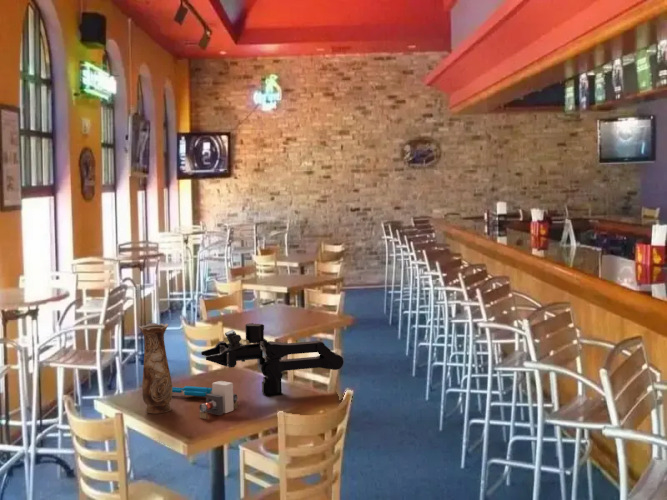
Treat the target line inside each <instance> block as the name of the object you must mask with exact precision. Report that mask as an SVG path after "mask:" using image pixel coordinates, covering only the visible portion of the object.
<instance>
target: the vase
mask: <svg viewBox="0 0 667 500" xmlns="http://www.w3.org/2000/svg"><path fill="white" fill-rule="evenodd" d="M168 326H169V323H159V324H158V323H156V322H155V323H154V322H153V323H147V324H146V325H141V326H140V325H139V326H138V328H139V329H140V331H141V333H142V334H143V338H144V340H143V341H144V350H143V351H144V354H143V355H144V356H143V370H142V371H143V372H142V384H141V389H142V390H141V391H142V400H143V402H144V404H145V405H146V406H147V407H146V409H145V412H146V413H148V414H163V413H166V412H170V411H171V410H172V407H171V405H170V403H171V402H172V399H173V392H172V387H173V382H172V378H171V372H170V367H169V363H168V362H169V361H168V356H167V351H166V345H165V333H166V330H167V328H168Z"/></svg>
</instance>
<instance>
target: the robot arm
mask: <svg viewBox="0 0 667 500" xmlns="http://www.w3.org/2000/svg"><path fill="white" fill-rule="evenodd" d="M244 325H245V326H244V327H245V341H248V344H243V343H242V342H240V341H241V340H242V337H241V335H240V334H237V332H236V331H235V330H234V329H231V330H229V331H226V332H224V335H225V337H226V339H227V341H228V343H227V342H226V341H224V340H220V341H218V342H217V343H216V345H215V346H214V347H211V348H209V349H205V350H202V351H201V354H200V355H201V356H205V360H206V361H208V362H212V363H215V364H217V365H221V366H223V367H227V368H235V367H236V366H237V362H240V361H241V362H242V363H243V362H244V363H245V362H246V361H249V360H250V361H253V360H257V370H258V371H260V372H261V373H262V375H263V378H262V381H261V393H262V394H263V395H264V396H265V397H273V396H282V395H284V393H283V392H282V389H283V388H282V379H283V375H284V374H283V373H282V372H285V371H287V372H288V371H296V370H297V371H298V370H308V369H316V368H317V369H319V368H320V369H326V370H333V371H337V370H340V369H342V367H343V366H344V358H343V357H342V356H341V355H340V354H338V353H337V352H335V351H332V350H331V349H330V348H329V347H327V345H325V343H324V342H323V341H321V340H318V339H317V340H315V341H302V342H287V343H286V342H279V341H268V340H267V339H266V338H265V332H264V331H265V325H264V324H263V323H254V322H252V323H251V322H250V323H246V324H244ZM261 347H262V348H261ZM311 353H317V354H318V355H317V356H310V357H309V356H308V357H296V358H286V359H281V358H283V357H286V356H288V355H289V356H290V355H299V354H311ZM263 355H265V357H264V356H263Z"/></svg>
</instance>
